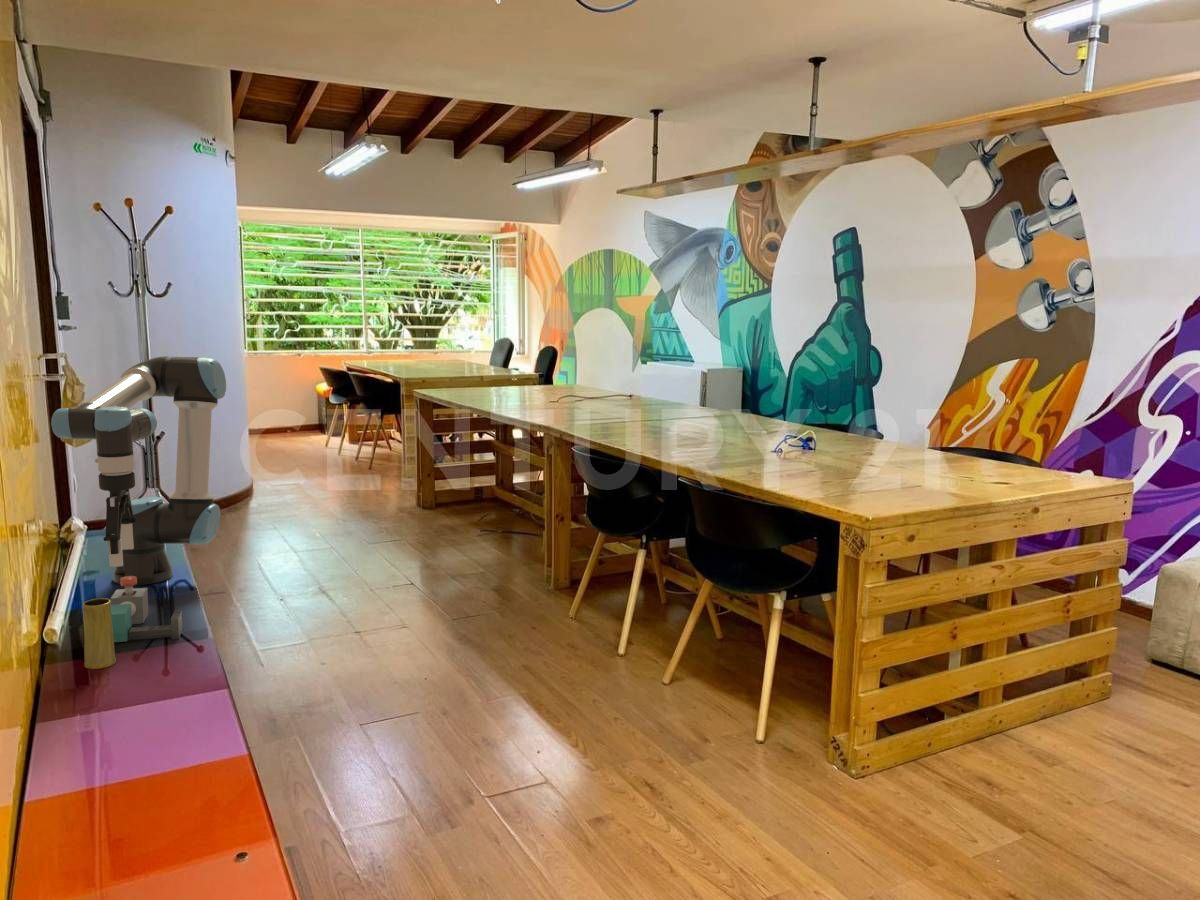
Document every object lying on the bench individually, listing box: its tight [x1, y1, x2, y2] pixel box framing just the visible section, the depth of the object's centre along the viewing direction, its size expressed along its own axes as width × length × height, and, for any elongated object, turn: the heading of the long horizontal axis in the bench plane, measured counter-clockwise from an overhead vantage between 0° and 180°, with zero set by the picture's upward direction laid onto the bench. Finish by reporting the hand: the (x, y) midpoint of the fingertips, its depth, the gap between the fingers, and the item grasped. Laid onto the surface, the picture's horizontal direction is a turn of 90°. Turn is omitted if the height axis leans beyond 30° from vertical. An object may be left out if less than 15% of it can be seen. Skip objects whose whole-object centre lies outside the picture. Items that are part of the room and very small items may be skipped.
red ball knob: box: [120, 576, 137, 595], centre depth 212 cm, size 4×4×5 cm
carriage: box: [111, 604, 133, 643], centre depth 200 cm, size 6×7×7 cm
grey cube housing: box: [110, 587, 149, 625], centre depth 213 cm, size 7×7×7 cm
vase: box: [82, 597, 117, 670], centre depth 186 cm, size 6×6×14 cm
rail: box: [127, 609, 183, 641], centre depth 202 cm, size 19×6×5 cm, turn 109°
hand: (122, 557), depth 206 cm, fingers open, 13 cm apart
